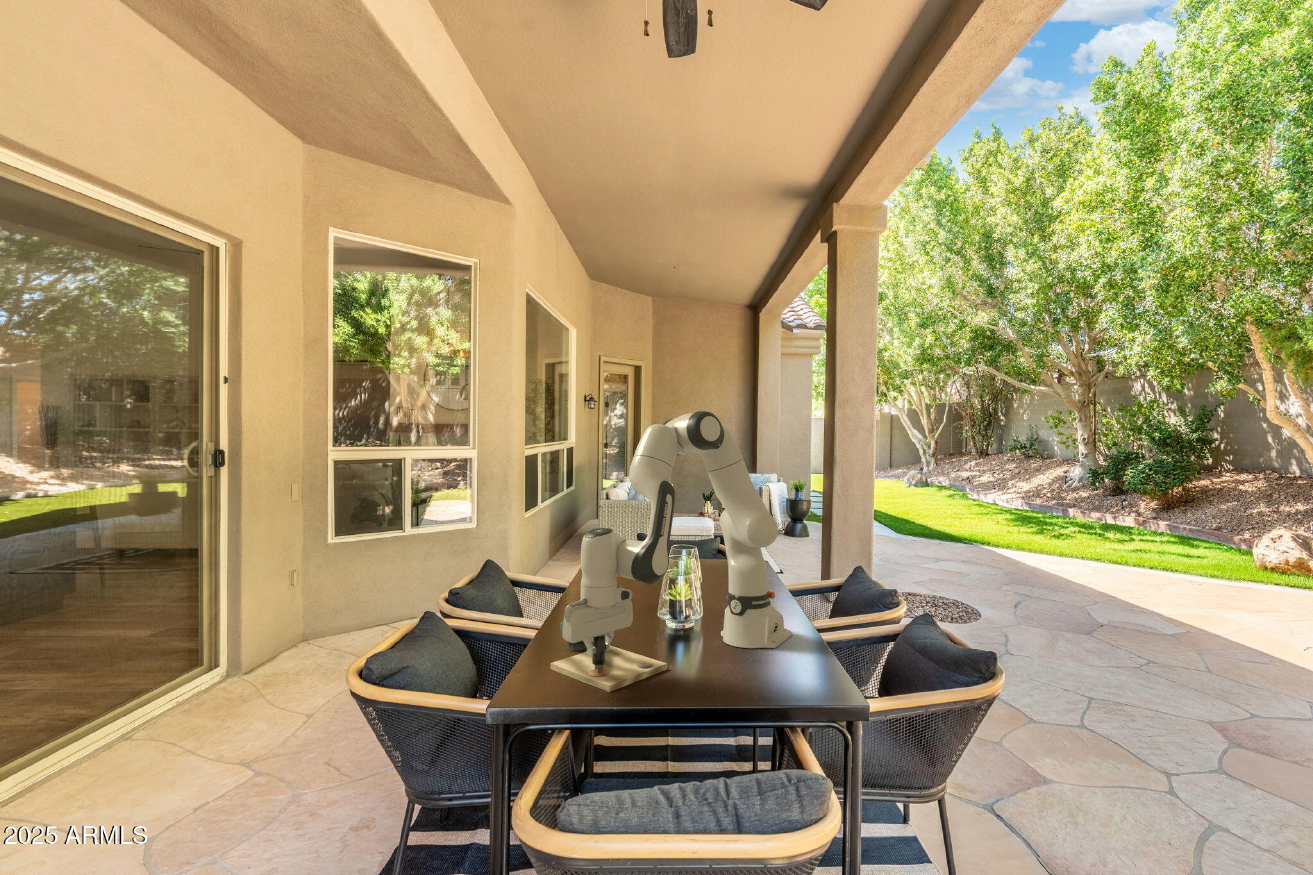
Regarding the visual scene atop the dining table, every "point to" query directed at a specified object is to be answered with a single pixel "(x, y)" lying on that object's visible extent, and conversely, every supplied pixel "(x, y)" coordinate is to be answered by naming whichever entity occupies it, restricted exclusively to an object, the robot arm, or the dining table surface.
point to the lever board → (609, 668)
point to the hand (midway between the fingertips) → (598, 652)
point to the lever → (599, 651)
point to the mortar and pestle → (573, 646)
